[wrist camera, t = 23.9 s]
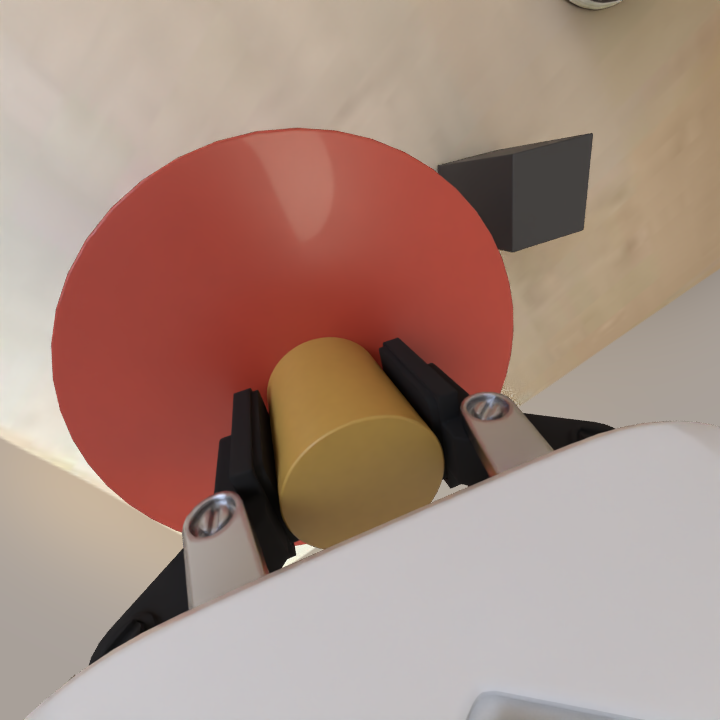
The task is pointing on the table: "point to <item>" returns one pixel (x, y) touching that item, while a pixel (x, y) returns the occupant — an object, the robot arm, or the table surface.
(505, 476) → the robot arm
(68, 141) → the table surface
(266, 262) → the lid
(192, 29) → the table surface
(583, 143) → the block
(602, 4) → the coffee can
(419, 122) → the table surface
